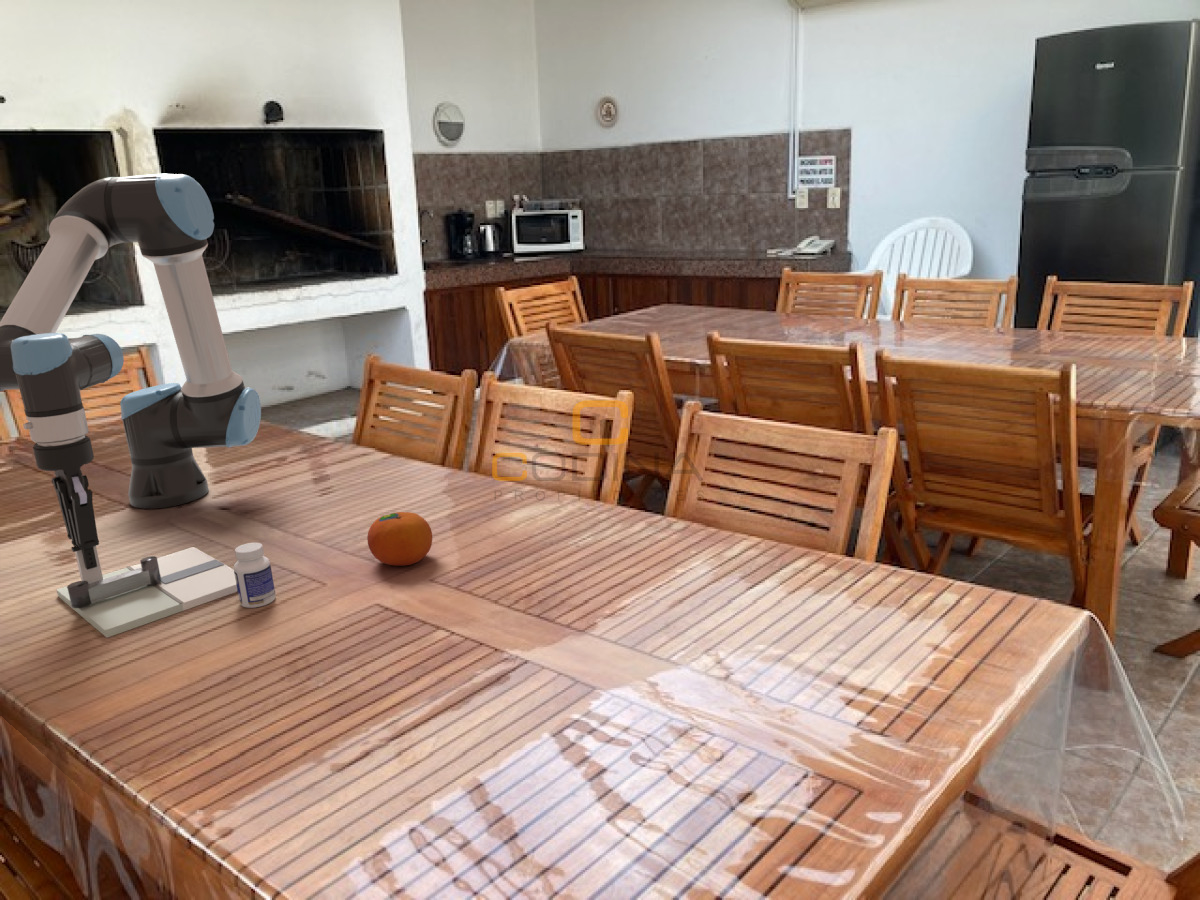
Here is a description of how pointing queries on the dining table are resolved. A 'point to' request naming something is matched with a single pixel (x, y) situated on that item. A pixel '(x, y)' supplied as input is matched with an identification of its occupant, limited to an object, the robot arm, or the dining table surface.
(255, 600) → the pill bottle
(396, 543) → the fruit
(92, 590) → the swing bar
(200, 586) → the door board
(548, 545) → the dining table surface
